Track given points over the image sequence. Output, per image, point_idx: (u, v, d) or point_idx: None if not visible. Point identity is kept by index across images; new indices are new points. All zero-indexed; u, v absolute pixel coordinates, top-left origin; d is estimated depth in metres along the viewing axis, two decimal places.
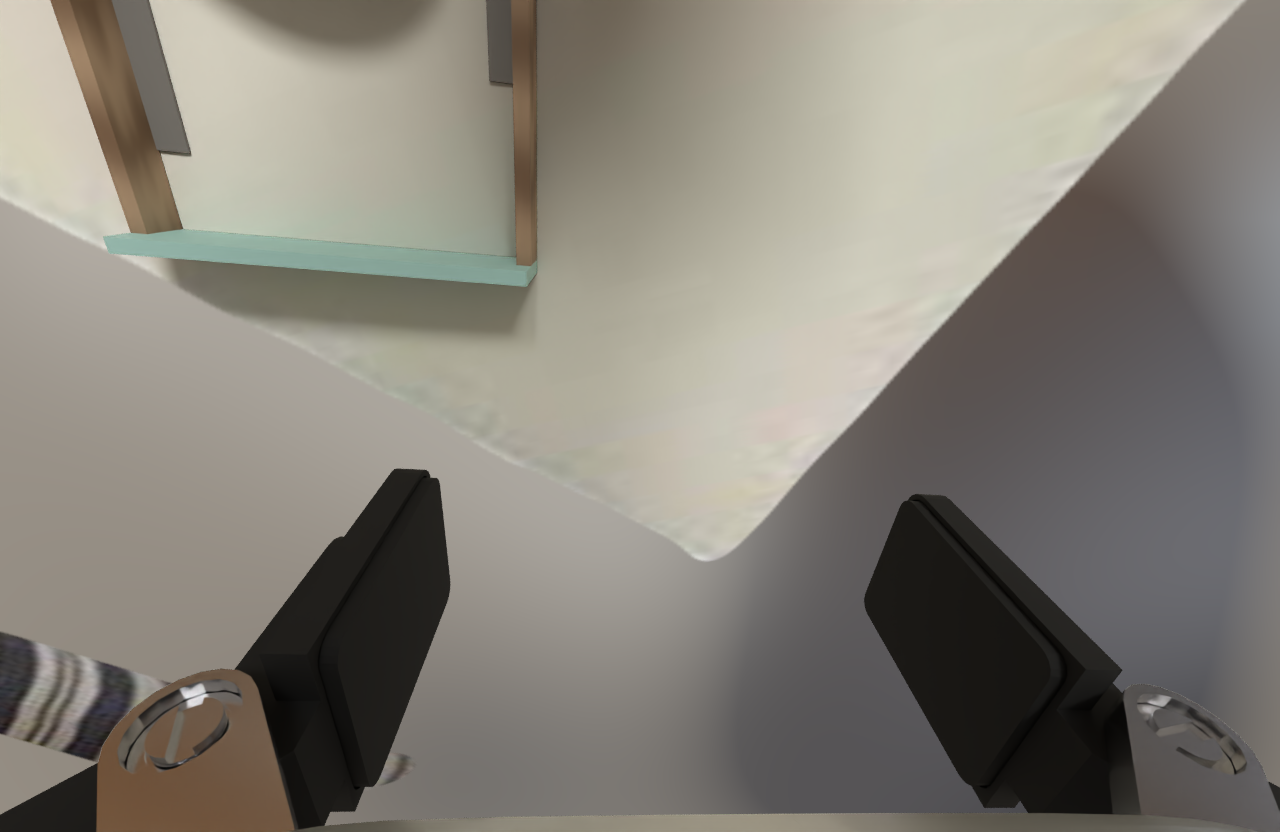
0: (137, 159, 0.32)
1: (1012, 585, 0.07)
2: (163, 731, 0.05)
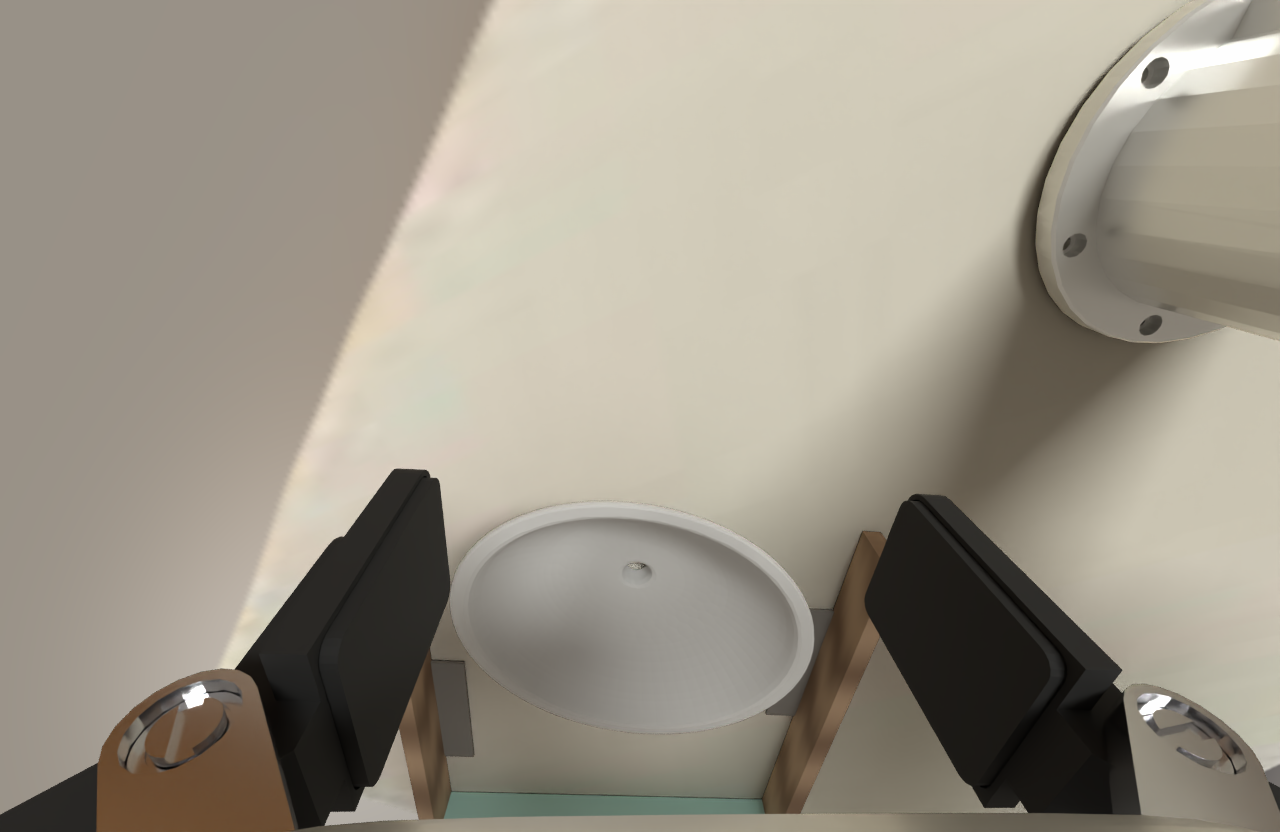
0: (437, 788, 0.34)
1: (1012, 585, 0.07)
2: (163, 731, 0.05)
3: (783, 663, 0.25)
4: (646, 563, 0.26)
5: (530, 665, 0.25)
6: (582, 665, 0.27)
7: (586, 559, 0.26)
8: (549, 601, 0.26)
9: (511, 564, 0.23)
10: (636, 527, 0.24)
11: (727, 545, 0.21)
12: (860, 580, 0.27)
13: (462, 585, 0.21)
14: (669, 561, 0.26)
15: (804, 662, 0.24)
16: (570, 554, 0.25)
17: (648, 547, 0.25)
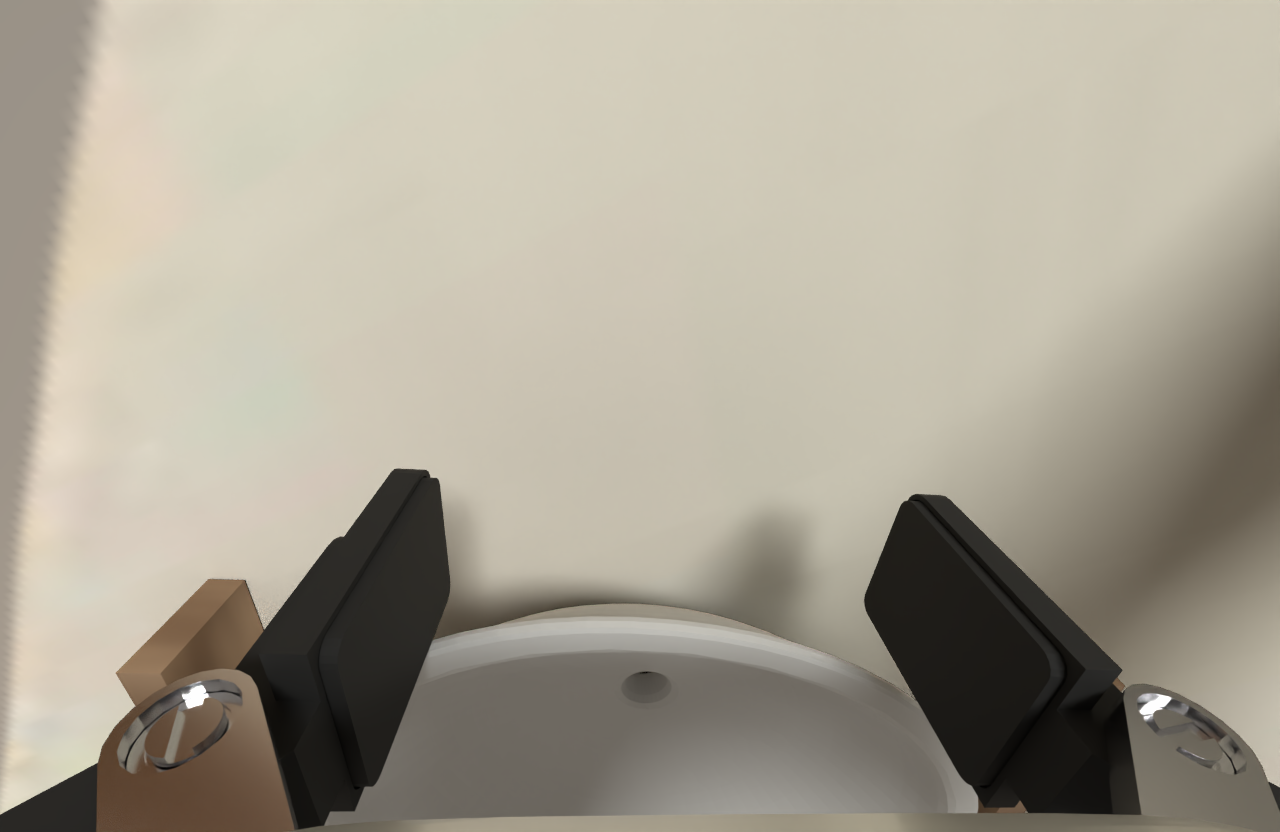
0: None
1: (1012, 585, 0.07)
2: (163, 731, 0.05)
3: None
4: (661, 672, 0.16)
5: None
6: None
7: (558, 675, 0.15)
8: (500, 746, 0.15)
9: (415, 711, 0.13)
10: None
11: (831, 688, 0.10)
12: None
13: None
14: (701, 669, 0.15)
15: None
16: (530, 671, 0.14)
17: None
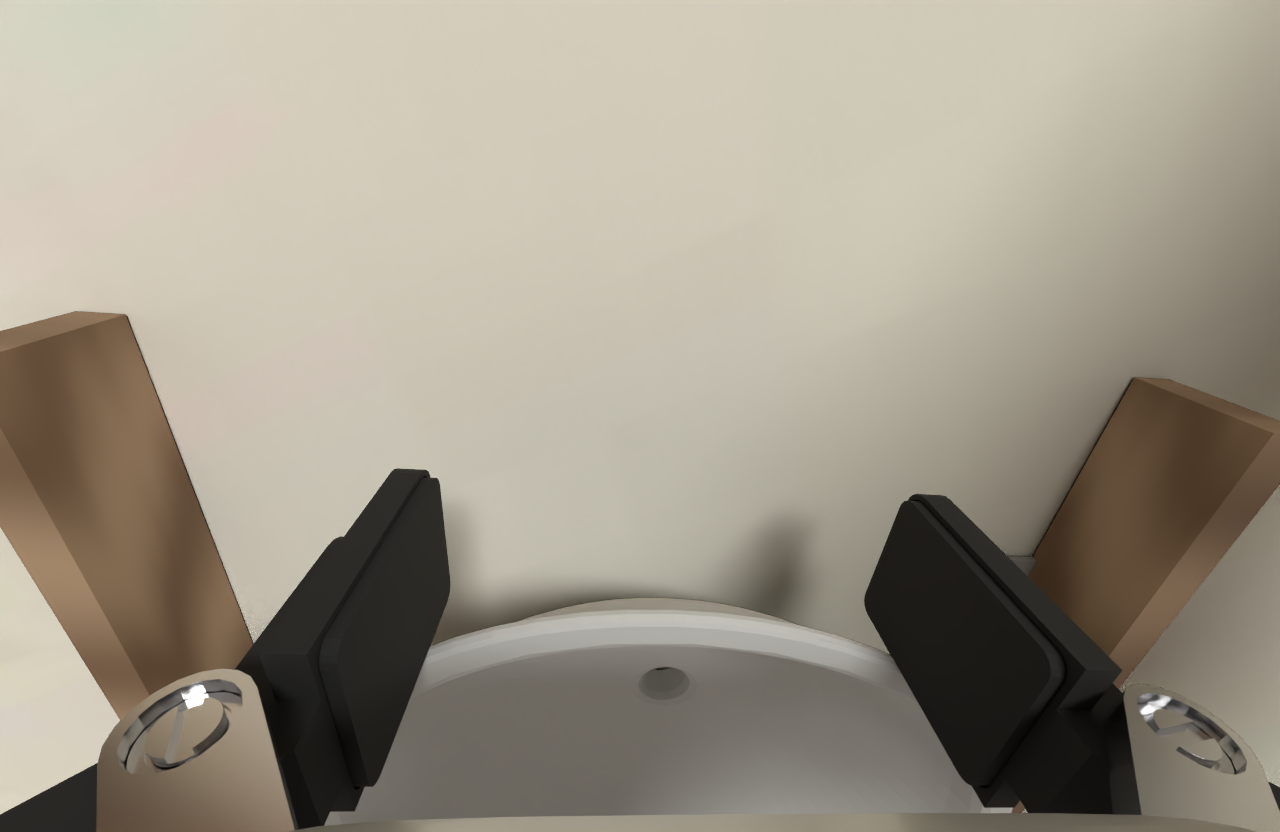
0: None
1: (1012, 585, 0.07)
2: (163, 731, 0.05)
3: None
4: (677, 667, 0.15)
5: None
6: None
7: (573, 676, 0.15)
8: (520, 752, 0.15)
9: (428, 720, 0.12)
10: None
11: (843, 671, 0.10)
12: (1135, 480, 0.13)
13: None
14: (717, 662, 0.15)
15: None
16: (543, 673, 0.14)
17: None
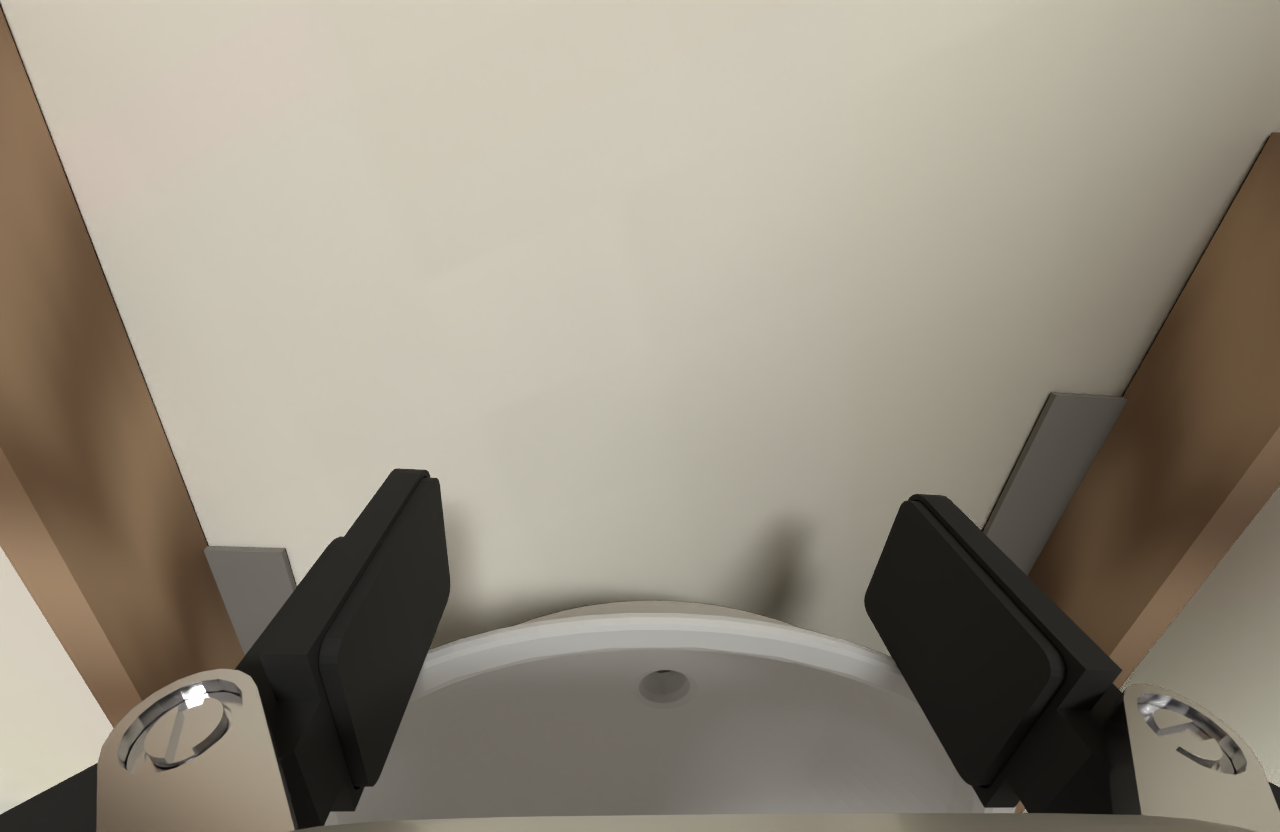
0: None
1: (1012, 585, 0.07)
2: (163, 731, 0.05)
3: None
4: (678, 670, 0.15)
5: None
6: None
7: (573, 679, 0.15)
8: (520, 755, 0.15)
9: (427, 724, 0.12)
10: None
11: (847, 675, 0.10)
12: (1275, 257, 0.10)
13: None
14: (718, 665, 0.15)
15: None
16: (543, 676, 0.14)
17: None
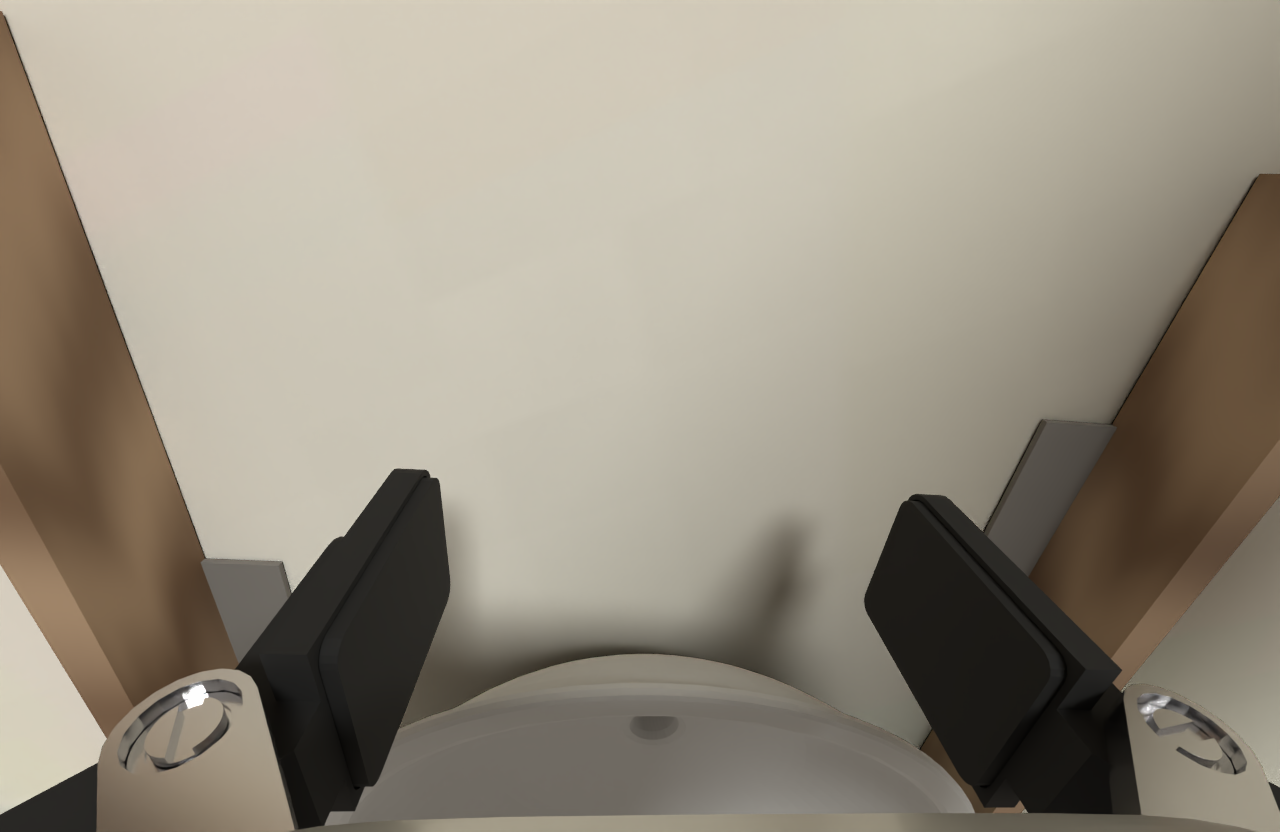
0: None
1: (1012, 585, 0.07)
2: (163, 731, 0.05)
3: None
4: None
5: None
6: None
7: None
8: (515, 790, 0.16)
9: (429, 767, 0.13)
10: None
11: (821, 738, 0.10)
12: (1260, 296, 0.10)
13: None
14: None
15: None
16: None
17: None
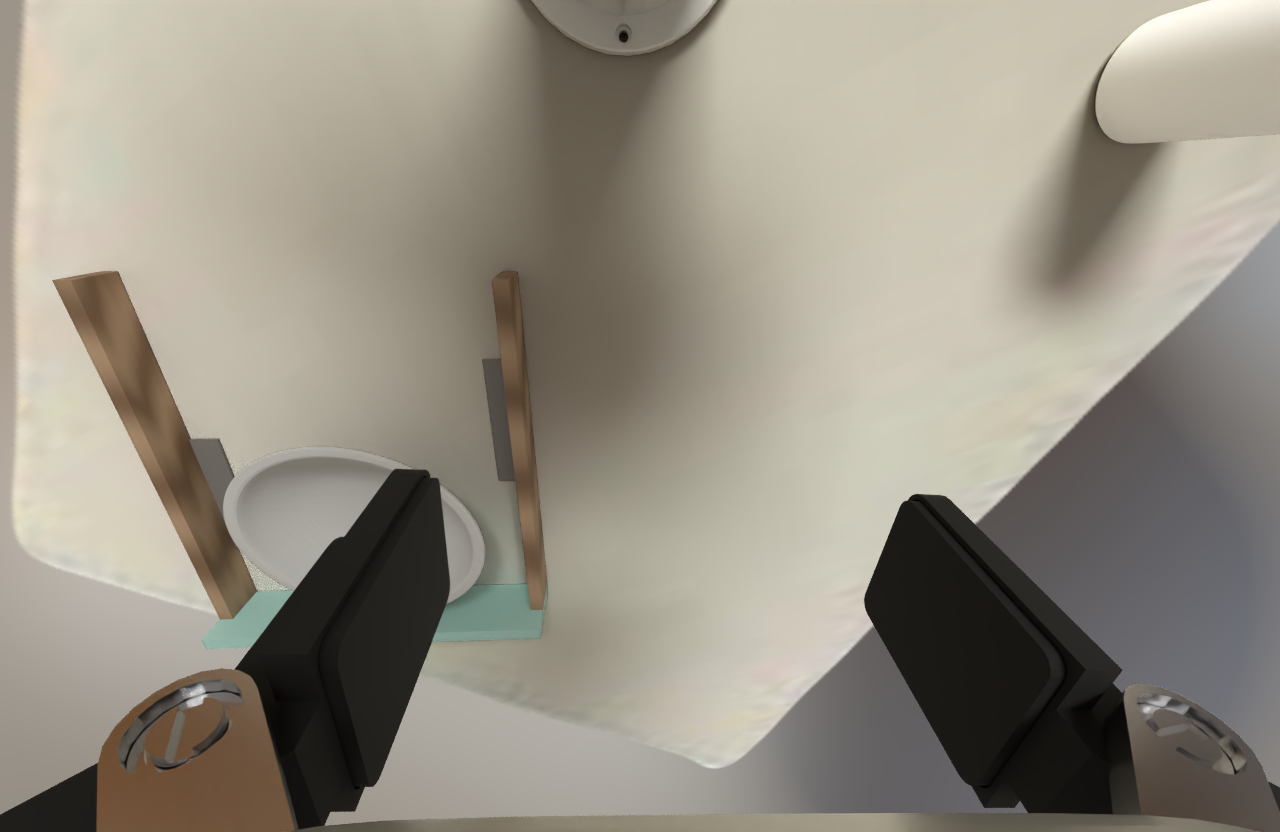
0: (223, 567, 0.39)
1: (1012, 585, 0.07)
2: (163, 731, 0.05)
3: (470, 544, 0.36)
4: None
5: None
6: None
7: (340, 500, 0.38)
8: (323, 532, 0.38)
9: (274, 506, 0.36)
10: (355, 470, 0.36)
11: (376, 464, 0.32)
12: None
13: (230, 520, 0.34)
14: None
15: (478, 540, 0.35)
16: (325, 497, 0.37)
17: (376, 484, 0.37)
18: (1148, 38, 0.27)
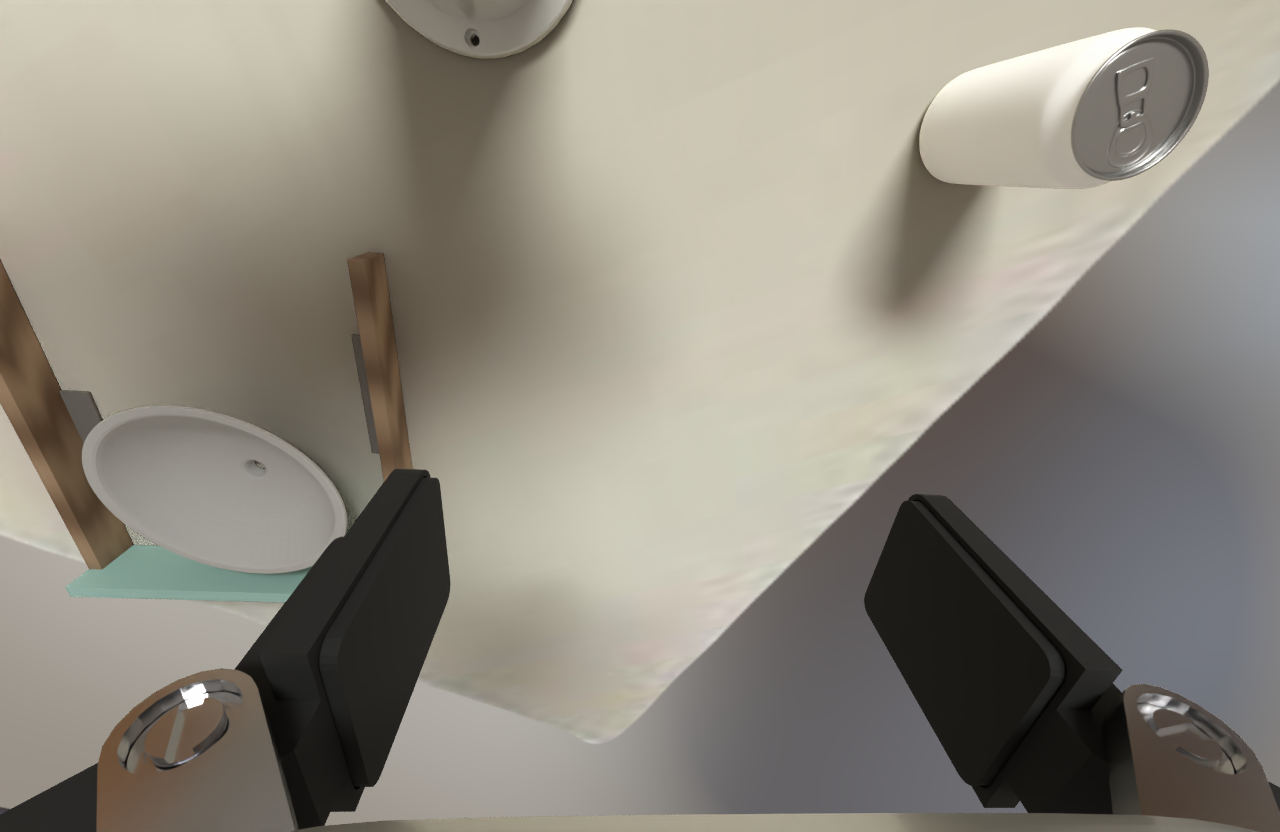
0: (93, 518, 0.40)
1: (1012, 585, 0.07)
2: (163, 731, 0.05)
3: (333, 510, 0.38)
4: (256, 460, 0.39)
5: (179, 531, 0.39)
6: (227, 533, 0.40)
7: (211, 460, 0.39)
8: (193, 490, 0.39)
9: (139, 461, 0.37)
10: (224, 432, 0.37)
11: (234, 426, 0.34)
12: None
13: (89, 471, 0.35)
14: (268, 456, 0.39)
15: (338, 506, 0.37)
16: (195, 456, 0.39)
17: (247, 447, 0.39)
18: (954, 89, 0.29)
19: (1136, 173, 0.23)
